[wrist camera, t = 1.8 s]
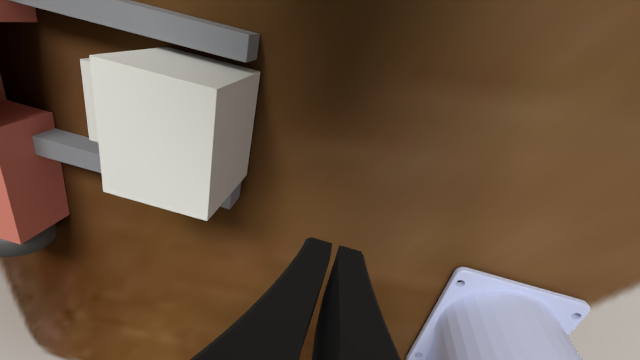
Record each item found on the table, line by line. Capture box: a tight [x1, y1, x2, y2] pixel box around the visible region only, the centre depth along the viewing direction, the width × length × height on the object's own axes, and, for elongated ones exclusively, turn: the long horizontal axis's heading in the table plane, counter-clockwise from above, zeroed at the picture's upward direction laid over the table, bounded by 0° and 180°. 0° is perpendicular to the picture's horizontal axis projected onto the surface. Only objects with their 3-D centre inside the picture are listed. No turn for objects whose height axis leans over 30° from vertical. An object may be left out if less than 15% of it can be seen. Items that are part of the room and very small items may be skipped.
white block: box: [80, 47, 261, 221], centre depth 16 cm, size 6×8×5 cm
